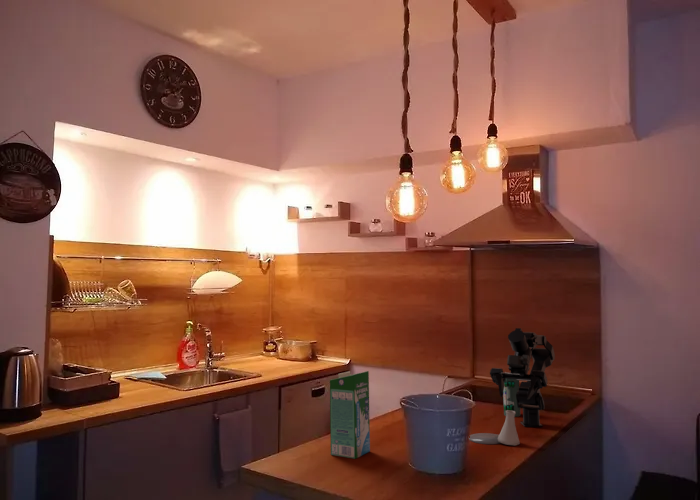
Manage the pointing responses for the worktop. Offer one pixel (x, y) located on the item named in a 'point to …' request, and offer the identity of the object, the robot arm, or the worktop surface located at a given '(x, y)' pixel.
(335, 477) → the worktop surface
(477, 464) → the worktop surface
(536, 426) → the robot arm
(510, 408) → the can
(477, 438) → the slate coaster
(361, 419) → the milk carton
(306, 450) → the worktop surface
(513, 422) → the flask
